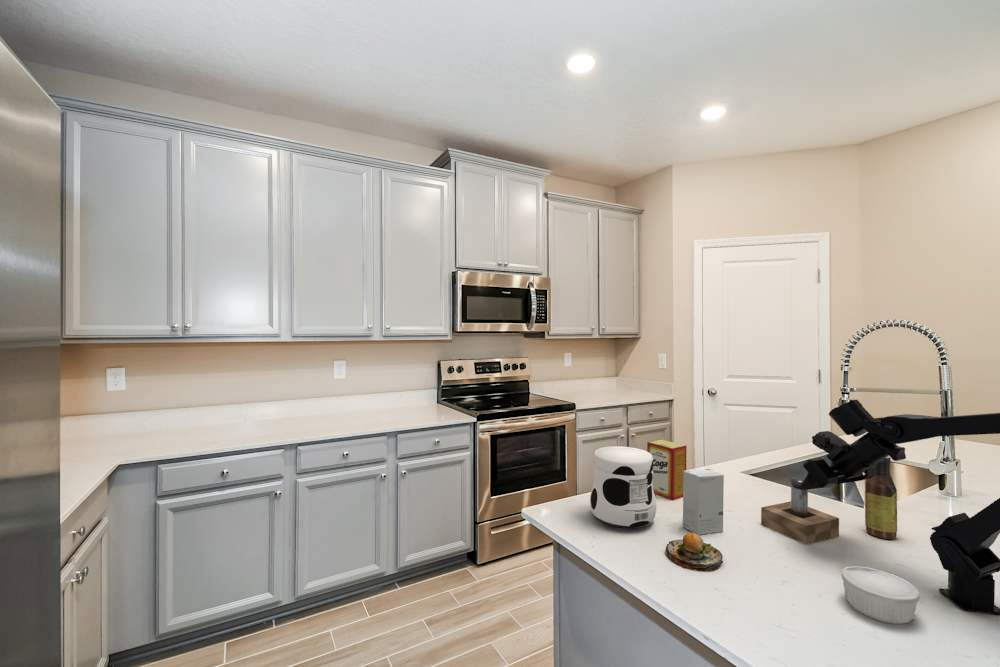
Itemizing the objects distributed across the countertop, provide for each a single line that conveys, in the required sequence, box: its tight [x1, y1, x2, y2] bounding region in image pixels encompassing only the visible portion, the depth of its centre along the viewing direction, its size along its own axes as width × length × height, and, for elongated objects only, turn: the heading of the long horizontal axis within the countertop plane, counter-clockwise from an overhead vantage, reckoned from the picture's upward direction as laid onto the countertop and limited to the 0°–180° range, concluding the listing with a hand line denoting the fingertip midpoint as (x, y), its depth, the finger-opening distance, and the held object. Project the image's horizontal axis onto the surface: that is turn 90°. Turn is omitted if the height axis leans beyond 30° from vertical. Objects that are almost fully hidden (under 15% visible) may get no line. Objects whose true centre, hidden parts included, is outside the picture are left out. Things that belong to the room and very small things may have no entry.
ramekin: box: [840, 565, 920, 625], centre depth 84 cm, size 11×11×5 cm
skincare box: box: [682, 468, 725, 536], centre depth 117 cm, size 8×6×15 cm
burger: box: [665, 531, 724, 573], centre depth 103 cm, size 12×12×8 cm
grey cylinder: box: [789, 476, 809, 519], centre depth 116 cm, size 4×4×13 cm
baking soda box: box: [646, 439, 687, 501], centre depth 142 cm, size 10×6×16 cm
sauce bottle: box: [864, 456, 898, 540], centre depth 114 cm, size 7×6×20 cm
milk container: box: [589, 445, 657, 529], centre depth 122 cm, size 17×17×18 cm
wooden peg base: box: [760, 500, 840, 546], centre depth 116 cm, size 12×12×4 cm
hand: (814, 485), depth 113 cm, fingers open, 9 cm apart
